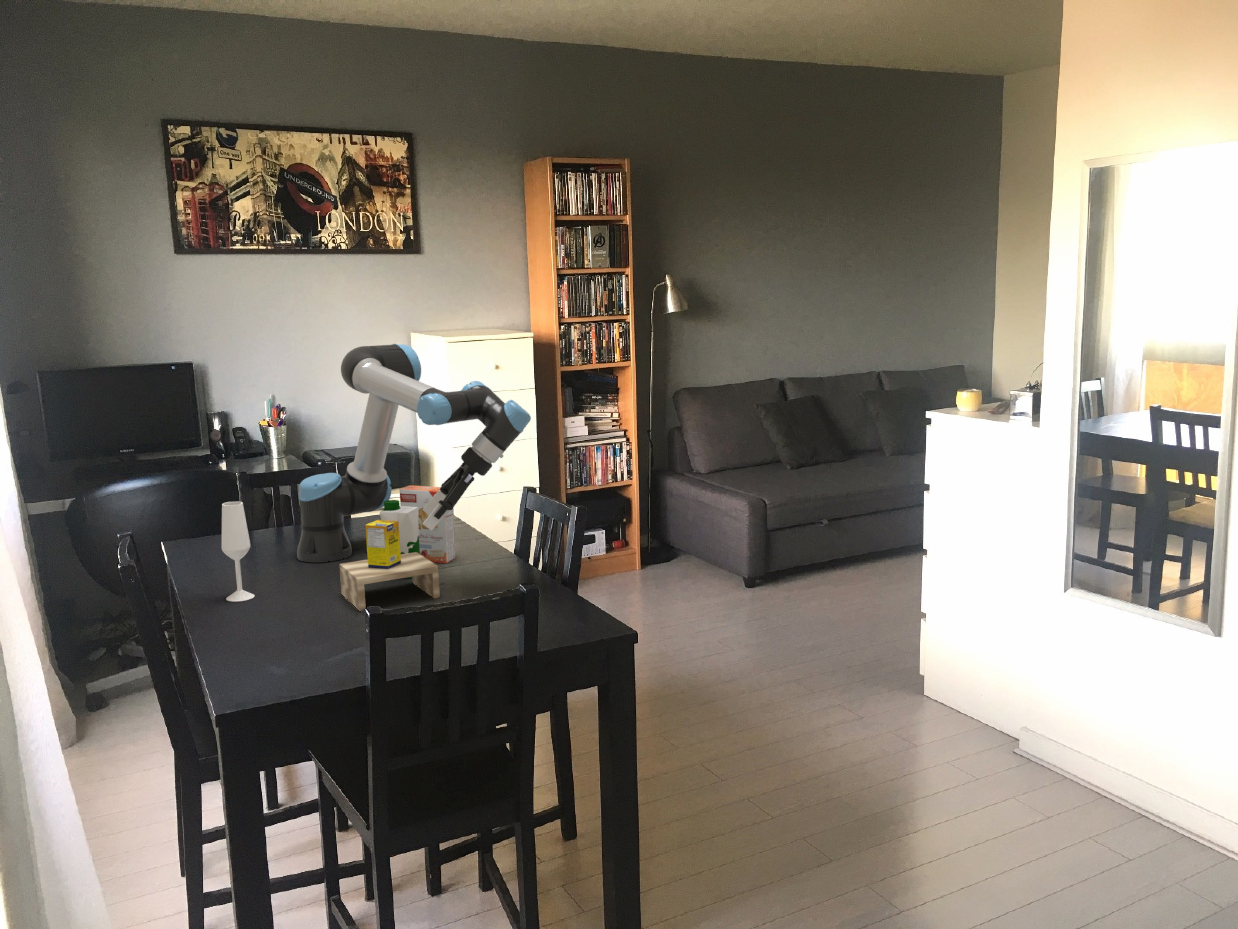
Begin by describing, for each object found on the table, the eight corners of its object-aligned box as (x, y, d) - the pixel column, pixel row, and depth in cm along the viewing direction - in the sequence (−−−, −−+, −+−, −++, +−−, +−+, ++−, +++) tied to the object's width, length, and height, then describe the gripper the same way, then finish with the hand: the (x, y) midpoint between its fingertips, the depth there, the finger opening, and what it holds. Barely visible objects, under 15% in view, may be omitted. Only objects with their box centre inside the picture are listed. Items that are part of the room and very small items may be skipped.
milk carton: (394, 569, 265) (390, 497, 262) (425, 570, 264) (421, 498, 260) (380, 578, 257) (376, 504, 254) (412, 579, 255) (408, 505, 252)
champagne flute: (226, 595, 244) (218, 502, 240) (254, 592, 247) (247, 499, 242) (225, 602, 238) (217, 507, 234) (254, 599, 240) (246, 505, 236)
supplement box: (401, 563, 242) (399, 520, 240) (388, 569, 236) (386, 526, 234) (380, 561, 243) (378, 519, 242) (367, 567, 238) (364, 524, 236)
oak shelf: (341, 594, 243) (339, 563, 242) (418, 581, 253) (416, 552, 252) (359, 611, 230) (357, 579, 228) (439, 597, 240) (438, 566, 238)
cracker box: (402, 560, 274) (398, 488, 270) (413, 555, 279) (409, 484, 276) (446, 564, 269) (442, 490, 266) (456, 559, 275) (453, 486, 271)
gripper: (497, 475, 230) (439, 542, 230) (490, 454, 254) (438, 516, 254) (472, 455, 228) (414, 523, 228) (467, 436, 252) (415, 498, 252)
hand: (426, 519), depth 241 cm, fingers open, 13 cm apart
